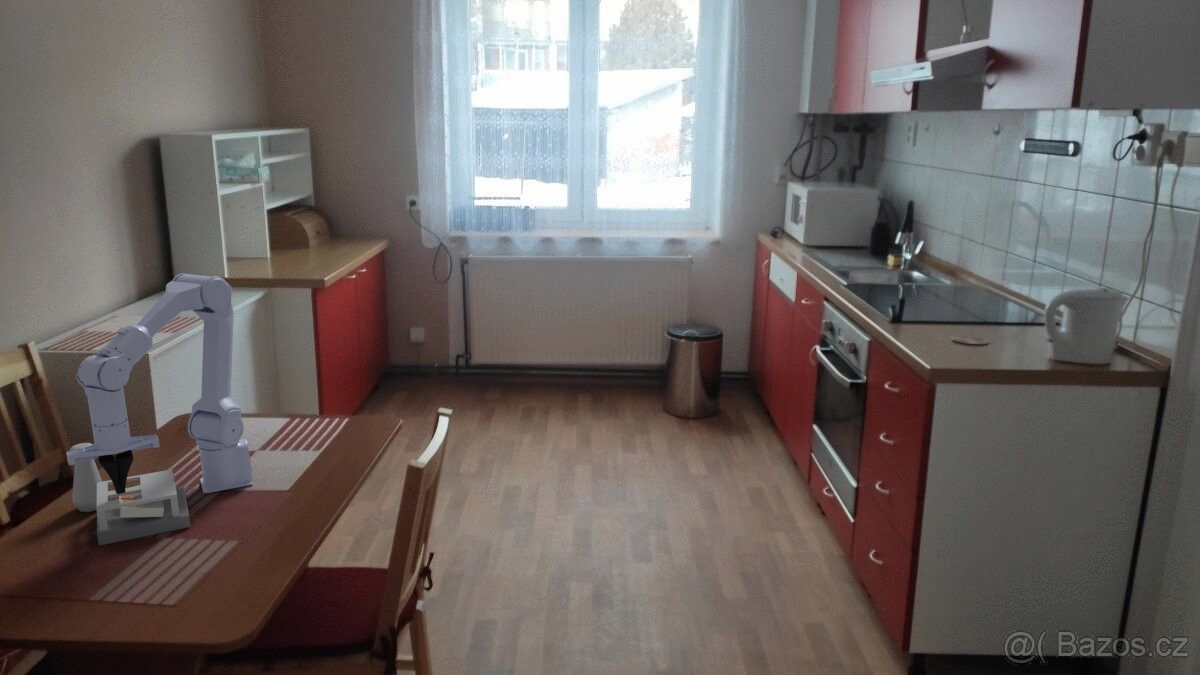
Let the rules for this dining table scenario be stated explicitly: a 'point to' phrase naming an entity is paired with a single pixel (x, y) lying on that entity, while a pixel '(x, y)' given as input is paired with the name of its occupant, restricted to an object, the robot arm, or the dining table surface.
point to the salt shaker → (85, 483)
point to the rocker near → (142, 509)
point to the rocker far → (131, 495)
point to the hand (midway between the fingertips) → (120, 491)
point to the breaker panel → (151, 490)
